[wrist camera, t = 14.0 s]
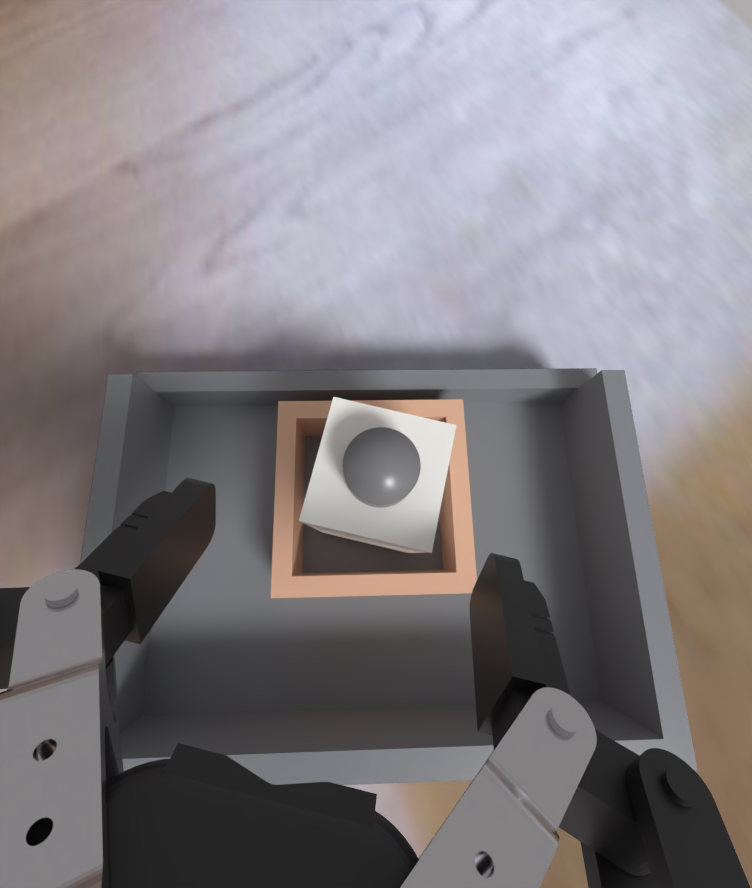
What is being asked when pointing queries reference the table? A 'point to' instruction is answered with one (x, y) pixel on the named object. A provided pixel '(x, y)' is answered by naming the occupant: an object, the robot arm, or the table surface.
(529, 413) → the walled box
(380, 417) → the plug
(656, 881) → the robot arm
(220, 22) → the table surface
